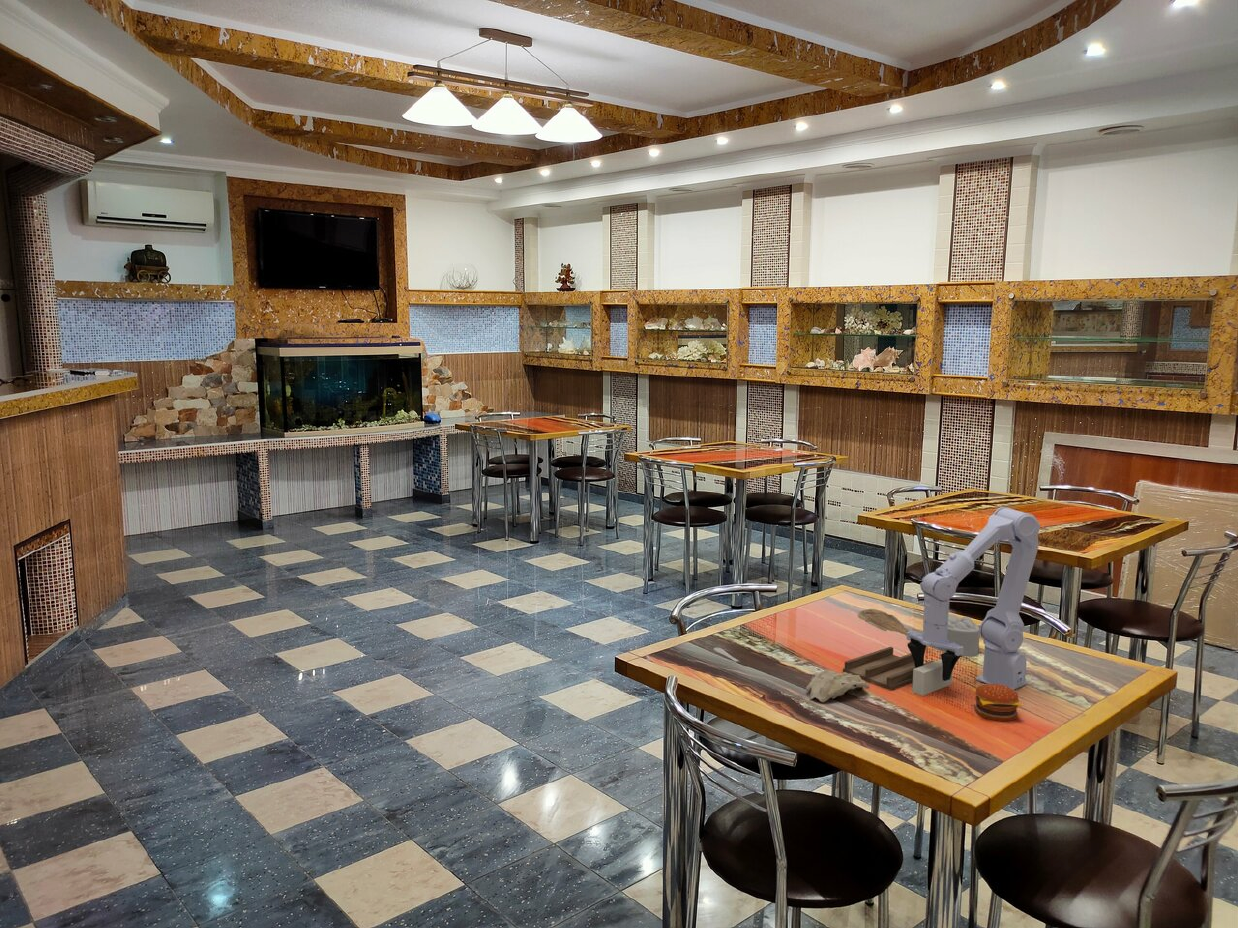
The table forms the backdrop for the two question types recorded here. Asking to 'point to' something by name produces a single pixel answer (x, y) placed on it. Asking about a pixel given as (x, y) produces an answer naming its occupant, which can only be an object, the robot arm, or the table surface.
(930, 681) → the white rectangular block
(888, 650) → the rack
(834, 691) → the coral
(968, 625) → the lumpy-topped squat cylinder
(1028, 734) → the table surface
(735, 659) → the butter knife
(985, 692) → the hamburger
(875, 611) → the fish fossil
